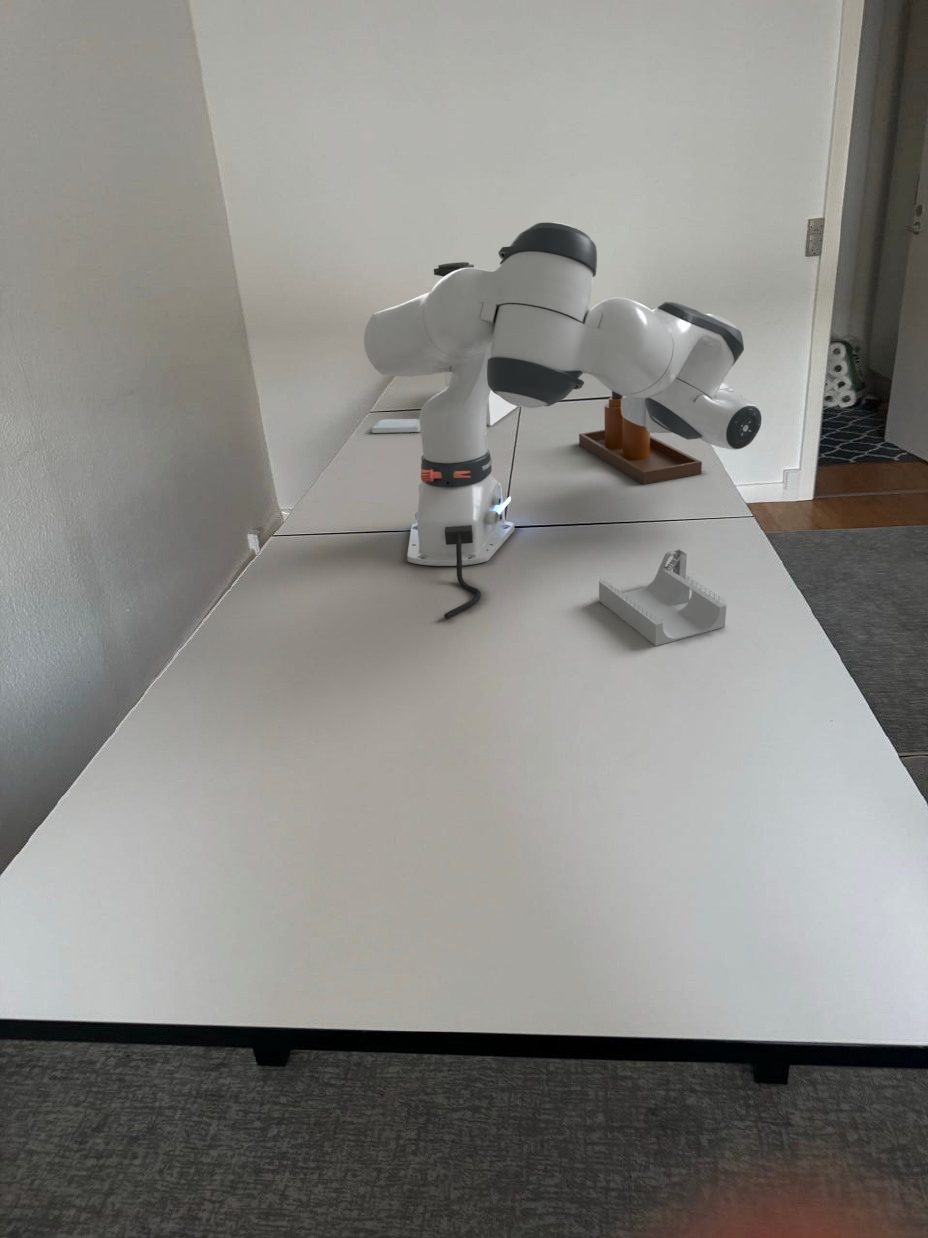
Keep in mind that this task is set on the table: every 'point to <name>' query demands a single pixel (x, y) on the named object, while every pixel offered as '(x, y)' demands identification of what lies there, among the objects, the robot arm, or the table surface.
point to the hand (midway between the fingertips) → (657, 392)
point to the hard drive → (396, 426)
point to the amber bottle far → (614, 422)
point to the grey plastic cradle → (666, 604)
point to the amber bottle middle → (635, 441)
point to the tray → (650, 470)
